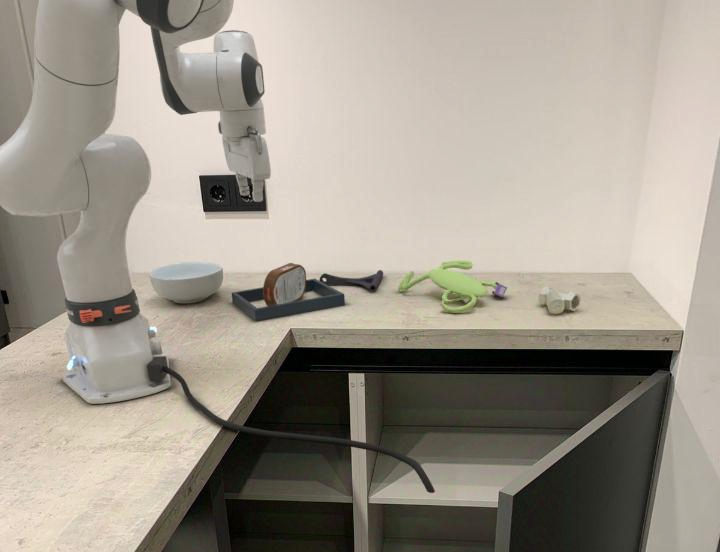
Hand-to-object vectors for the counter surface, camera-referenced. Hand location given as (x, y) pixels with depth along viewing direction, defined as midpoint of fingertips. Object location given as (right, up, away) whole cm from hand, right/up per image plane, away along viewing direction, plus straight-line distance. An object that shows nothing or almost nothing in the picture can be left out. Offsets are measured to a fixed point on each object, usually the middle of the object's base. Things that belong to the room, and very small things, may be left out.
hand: (251, 198), depth 155 cm
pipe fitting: (+63, -24, -2) cm, 68 cm away
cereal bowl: (-18, -16, +21) cm, 32 cm away
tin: (+6, -19, +13) cm, 24 cm away
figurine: (+44, -18, +12) cm, 49 cm away
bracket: (+20, -12, +25) cm, 35 cm away
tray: (+6, -19, +13) cm, 24 cm away
